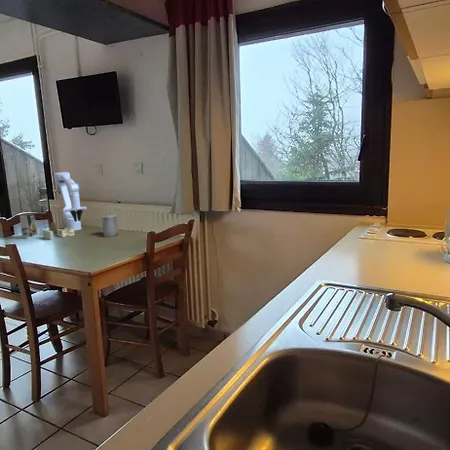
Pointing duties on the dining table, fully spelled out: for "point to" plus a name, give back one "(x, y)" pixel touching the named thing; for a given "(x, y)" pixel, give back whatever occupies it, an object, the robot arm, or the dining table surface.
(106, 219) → the pillar candle
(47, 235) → the board
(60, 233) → the socket block
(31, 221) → the coffee box
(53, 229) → the dowel
